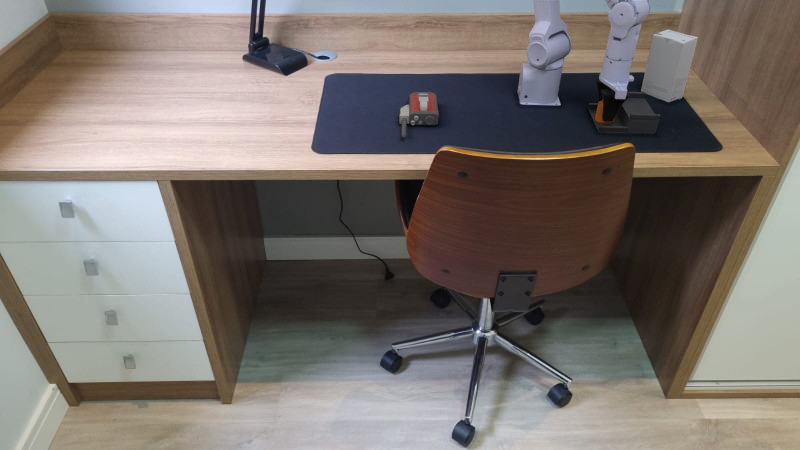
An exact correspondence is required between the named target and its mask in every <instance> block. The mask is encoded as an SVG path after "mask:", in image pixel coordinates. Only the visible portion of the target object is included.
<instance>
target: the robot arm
mask: <svg viewBox="0 0 800 450" xmlns="http://www.w3.org/2000/svg"><path fill="white" fill-rule="evenodd" d="M605 2H606V4H607V6H608V8H609V9H610V10H608V12H607V19H608V22H609V24H610V30H609V34H608V39H607V44H606V47H605V52H604V56H603V61H602V64H601V70H600V72H599V77H597V78H595V79H594V81H595V85H596V90H597V103H598V102H599V101H601V100H603V112H602V119H603V121H613V120H614V118H615V116H616V114H617V112H618V110H619V109H620V107H621V106H622V104H623V103H624V102H625V101H626V100H627V99H628V98H629V93H628V92H629V91H628V85H629V83H630V82H631V83H633V82H634V81H635V77H634V76H633V74H631V70H632V65H633V63H634V58H635V53H636V50H637V45H638V42H639V37H640V32H641V29H642V25H643V21H644V20H646V19H647V18H648V16H649V15H650V13H651V3H650V0H605ZM533 10H534V25H533V27H532V28H531V30H530V32H529V34H528V45H527V47H526V58H527V61H528V62H526V63H525V62H523V63H521V66H520V70H519V71H520V72H519V78H518V80H519V81H518V86H517V90H516V91H517V92H516V93H517V95H518V102H519V104H520V105H525V106H526V105H527V106H529V105H530V106H531V105H532V106H533V105H535V106H561V105H562V104H561V101H560V98H559V91H560V86H561V85H560V84H561V79H562V73H563V67H564V62H565V58H566V57H567V56H569V54H570V53H571V51H572V47H573V42H572V39H571V37H570V34H569V31H568V24H566V22H564V20H563V19H562V18H561V5H560V0H533Z"/></svg>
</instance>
